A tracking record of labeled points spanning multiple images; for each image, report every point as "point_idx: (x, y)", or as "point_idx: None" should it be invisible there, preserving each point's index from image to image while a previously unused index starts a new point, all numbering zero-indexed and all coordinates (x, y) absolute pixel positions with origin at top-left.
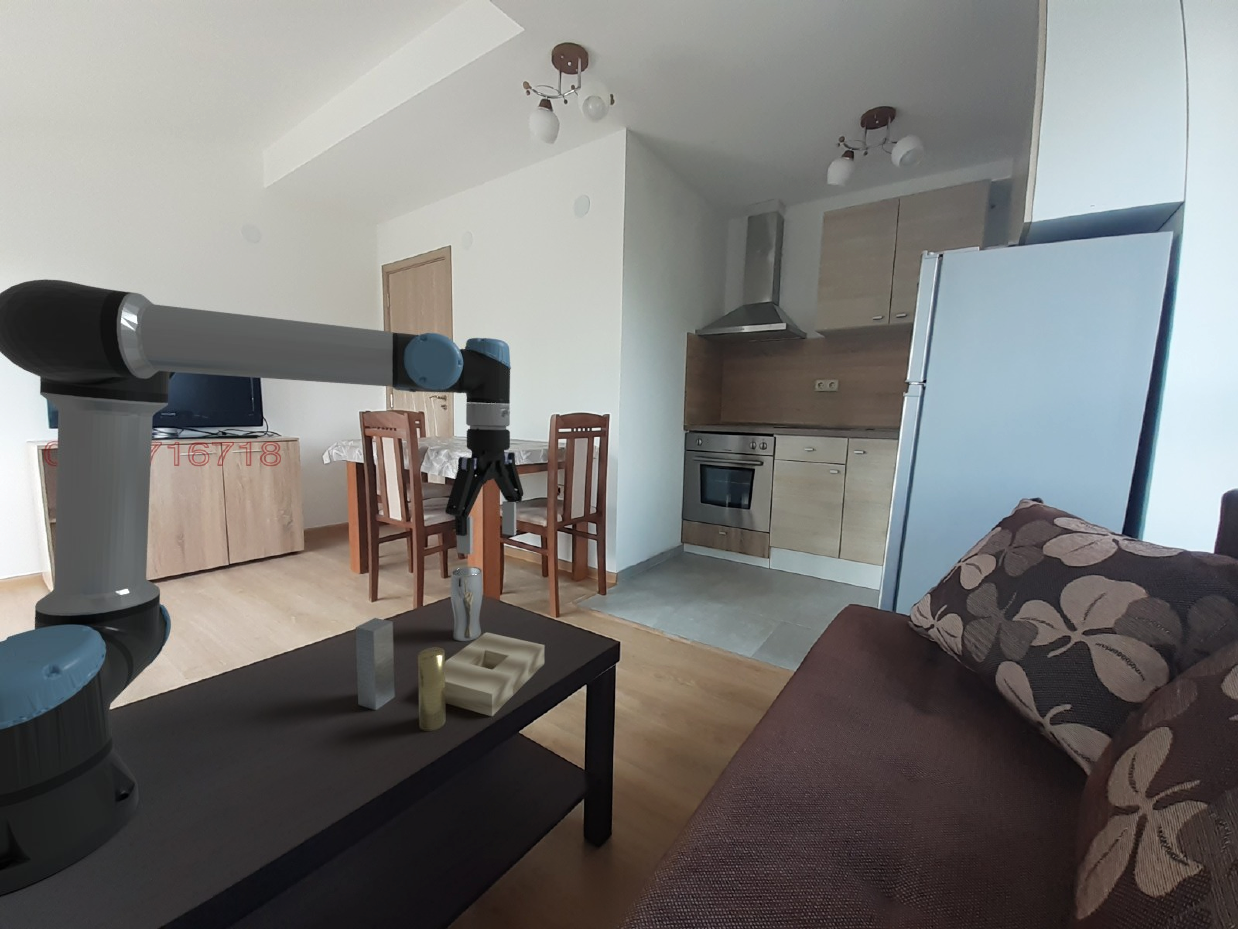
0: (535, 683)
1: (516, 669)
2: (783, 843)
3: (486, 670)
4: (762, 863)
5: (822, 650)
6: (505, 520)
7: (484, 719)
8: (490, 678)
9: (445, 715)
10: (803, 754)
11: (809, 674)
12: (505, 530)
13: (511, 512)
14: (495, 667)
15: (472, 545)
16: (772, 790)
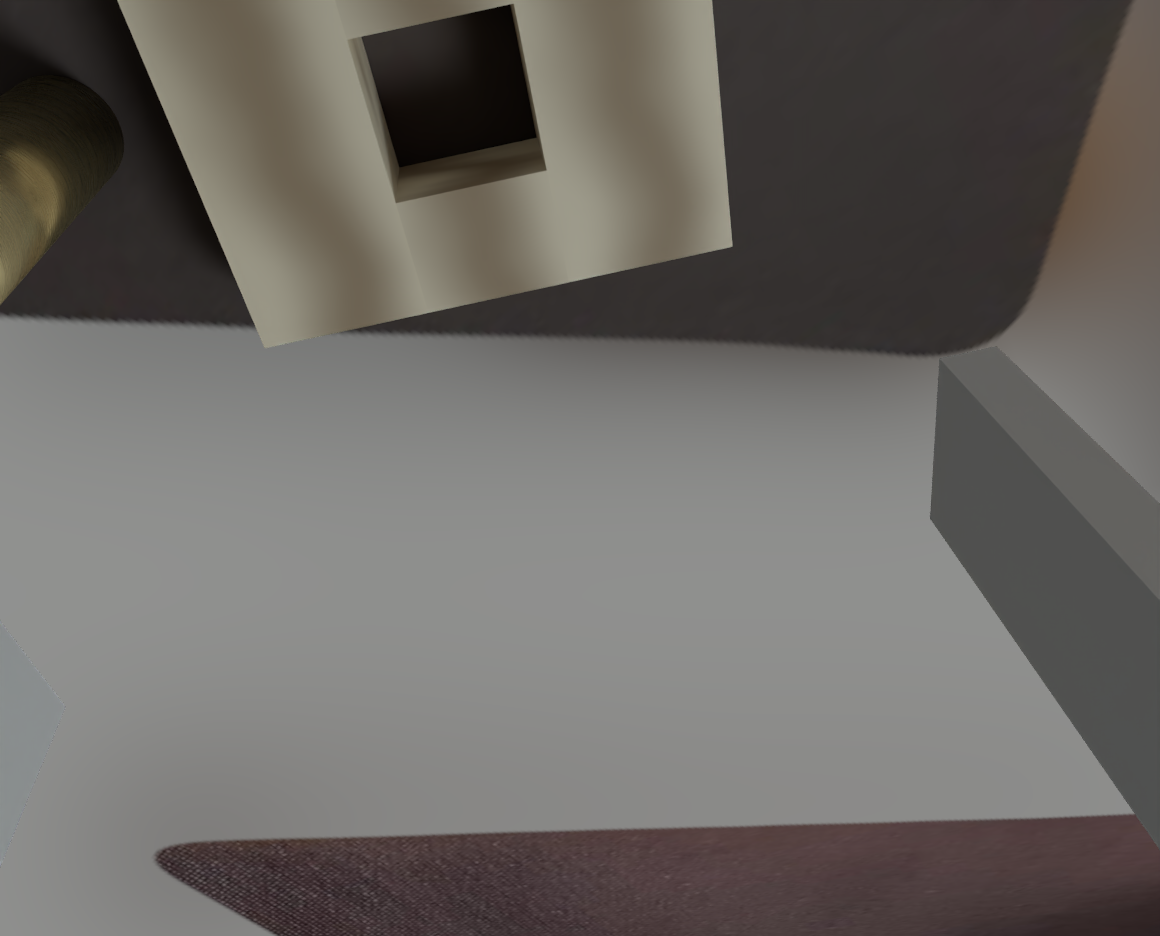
0: None
1: (471, 296)
2: (423, 918)
3: (370, 184)
4: (362, 912)
5: None
6: (1048, 539)
7: None
8: (337, 254)
9: (109, 178)
10: (668, 886)
11: (1004, 827)
12: (962, 440)
13: (1119, 750)
14: (419, 200)
15: (26, 790)
16: (531, 881)
